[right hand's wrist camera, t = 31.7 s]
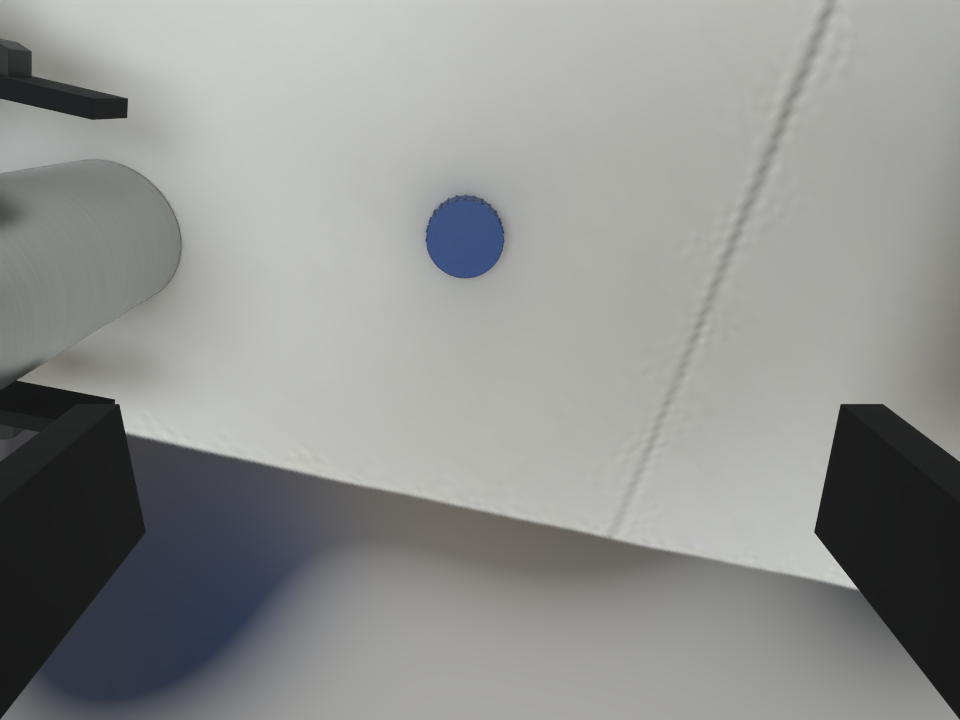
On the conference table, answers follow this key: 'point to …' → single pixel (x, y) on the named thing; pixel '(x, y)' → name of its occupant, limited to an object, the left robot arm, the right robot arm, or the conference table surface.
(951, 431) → the conference table surface
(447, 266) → the cap
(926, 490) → the right robot arm
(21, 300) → the bottle
